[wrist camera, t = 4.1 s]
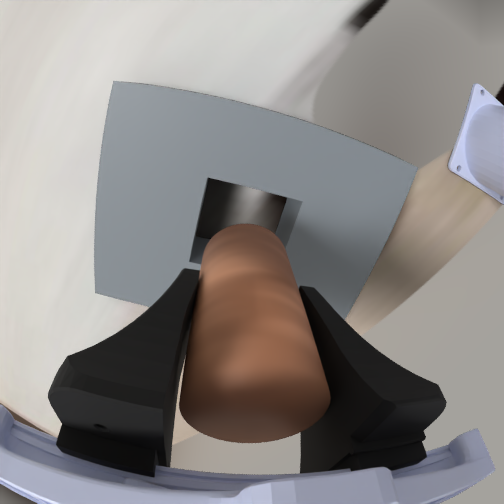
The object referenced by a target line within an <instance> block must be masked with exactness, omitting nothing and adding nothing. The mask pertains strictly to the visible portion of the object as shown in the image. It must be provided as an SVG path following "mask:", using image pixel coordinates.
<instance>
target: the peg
mask: <svg viewBox="0 0 504 504" xmlns="http://www.w3.org/2000/svg"><path fill="white" fill-rule="evenodd" d="M330 399H331V397H330V391H329V387H328V384H327V381H326V377H325V374H324V370H323V367H322V364H321V360H320V357H319V354H318V350H317V347H316V344H315V340H314V337H313V334H312V331H311V327H310V324H309V321H308V318H307V315H306V311H305V308H304V305H303V302H302V299H301V296H300V293H299V289H298V286H297V283H296V280H295V277H294V274H293V271H292V268H291V265H290V262H289V259H288V256H287V253H286V250H285V247H284V245H283V243H282V242H281V240H280V239H279V238H278V237H277V236H276V235H275V234H274V233H273V232H271V231H270V230H268V229H266V228H264V227H261V226H258V225H254V224H237V225H233V226H229V227H227V228H225V229H223V230H221V231H219V232H218V233H217V234H215V235H214V236H213V237H212V238H211V240H210V241H209V242H208V244H207V245H206V247H205V250H204V253H203V258H202V263H201V268H200V275H199V282H198V287H197V293H196V298H195V303H194V308H193V314H192V320H191V326H190V332H189V338H188V345H187V351H186V358H185V365H184V372H183V379H182V386H181V394H180V402H179V408H180V412H181V415H182V416H183V418H184V419H185V421H186V422H187V423H188V424H189V425H190V426H192V427H193V428H194V429H196V430H197V431H199V432H201V433H203V434H205V435H208V436H210V437H213V438H216V439H219V440H224V441H229V442H237V443H261V442H269V441H275V440H279V439H283V438H286V437H289V436H292V435H295V434H297V433H299V432H301V431H304V430H305V429H307V428H309V427H310V426H312V425H313V424H315V423H316V422H317V421H318V420H319V419H320V418H321V417H322V416H323V415H324V414H325V412H326V411H327V409H328V407H329V404H330Z"/></svg>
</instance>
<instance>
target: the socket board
mask: <svg viewBox="0 0 504 504" xmlns="http://www.w3.org/2000/svg"><path fill="white" fill-rule="evenodd" d="M417 170H418V167H416V166H414V165H412V164H410V163H408V162H406V161H404V160H402V159H400V158H398V157H395V156H394V155H391V154H389V153H387V152H385V151H382V150H380V149H378V148H375V147H373V146H371V145H368V144H366V143H363V142H361V141H359V140H356V139H354V138H351V137H348V136H346V135H343V134H341V133H338V132H335V131H333V130H330V129H327V128H324V127H321V126H319V125H316V124H313V123H310V122H307V121H304V120H301V119H298V118H295V117H291V116H288V115H285V114H282V113H278V112H275V111H271V110H268V109H264V108H261V107H257V106H253V105H250V104H246V103H242V102H238V101H234V100H229V99H225V98H221V97H216V96H212V95H207V94H202V93H197V92H192V91H186V90H181V89H175V88H169V87H163V86H156V85H149V84H141V83H132V82H119V81H113V85H112V90H111V94H110V99H109V104H108V110H107V115H106V121H105V127H104V133H103V140H102V147H101V155H100V163H99V172H98V183H97V195H96V211H95V239H94V270H95V293H97V294H101V295H105V296H108V297H112V298H116V299H120V300H124V301H128V302H132V303H136V304H140V305H144V306H148V307H151V306H152V305H153V304H154V303H155V302H156V301H157V300H158V299H159V298H160V297H161V296H162V295H163V293H164V292H165V291H166V290H167V289H168V288H169V287H170V286H171V284H172V283H173V282H174V281H175V279H176V278H177V276H178V275H179V274H180V272H181V270H182V269H184V268H188V269H194V270H200V268H201V263H202V258H203V253H204V250H205V247H206V245H207V244H208V242H209V241H210V239H206V238H201V237H197V236H196V233H197V228H198V223H199V219H200V214H201V210H202V206H203V201H204V197H205V193H206V188H207V184H208V180H209V178H213V179H217V180H221V181H225V182H230V183H234V184H238V185H242V186H246V187H250V188H254V189H258V190H262V191H266V192H269V193H273V194H277V195H281V196H284V197H288V198H287V201H286V204H285V207H284V210H283V213H282V215H281V218H280V221H279V224H278V227H277V230H276V233H275V235H276V236H277V237H278V238H279V239H280V240H281V242H282V243H283V245H284V247H285V250H286V253H287V256H288V259H289V262H290V265H291V268H292V271H293V274H294V277H295V280H296V283H297V286H298V289H299V287H300V286H308V287H314V288H315V289H316V290H317V291H318V292H319V293H320V294H321V295H322V296H323V297H324V298H325V300H326V301H327V302H328V303H329V304H330V305H331V306H332V307H333V308H334V310H335V311H336V312H337V313H338V314H339V315H340V316H341V317H342V318H343V319H344V320H345V318H346V317H347V315H348V313H349V311H350V310H351V308H352V306H353V304H354V303H355V301H356V299H357V297H358V295H359V294H360V292H361V290H362V288H363V286H364V284H365V283H366V281H367V279H368V277H369V275H370V273H371V271H372V269H373V267H374V265H375V263H376V261H377V259H378V257H379V255H380V253H381V251H382V249H383V247H384V245H385V243H386V241H387V239H388V237H389V235H390V233H391V230H392V228H393V226H394V224H395V222H396V220H397V217H398V215H399V213H400V211H401V208H402V206H403V204H404V201H405V199H406V197H407V194H408V192H409V190H410V187H411V185H412V182H413V180H414V177H415V175H416V172H417Z"/></svg>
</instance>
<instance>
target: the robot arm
mask: <svg viewBox="0 0 504 504" xmlns="http://www.w3.org/2000/svg"><path fill="white" fill-rule="evenodd" d="M481 92H482V94H481ZM457 166H458V169H457ZM448 168H449V170H450V171H452V172H454V173H456V174H457V175H459V176H461V177H462V178H464V179H465V180H467V181H469V182H470V183H472V184H473V185H475V186H477V187H478V188H480V189H481V190H483V191H484V192H486V193H487V194H489V195H490V196H492V197H493V198H495V199H496V200H497V201H499V202H500V203H502V204H503V205H504V106H503V105H502V104H501V103H500V102H499V101H498V100H497V99H496V98H495V97H493V96H492V95H491V94H490V93H489V92H488V91H487V90H486V89H484V88H483V87H482V86H481V85H480V84H477V83H475V84H473V86H472V91H471V94H470V97H469V102H468V105H467V108H466V112H465V115H464V118H463V122H462V125H461V128H460V132H459V134H458V138H457V140H456V143H455V146H454V149H453V152H452V155H451V157H450V160H449V163H448ZM500 196H501V197H500ZM199 275H200V270H194V269H188V268H184V269H182V270H181V272H180V274H179V275H178V276H177V278H176V279H175V281H174V282H173V283H172V284H171V286H170V287H169V288H168V289H167V290H166V291H165V292H164V293H163V295H162V296H161V297H160V298H159V299H158V300H157V301H156V302H155V303H154V304H153V305H152V306H151V307H150V308H149V309H148V310H146V311H145V312H144V313H143V314H142V315H141V316H139V317H138V318H137V319H136V320H134V321H133V322H132V323H130V324H129V325H128V326H126V327H125V328H123V329H122V330H120V331H119V332H117V333H116V334H114V335H112V336H111V337H109V338H107V339H105V340H103V341H102V342H100V343H98V344H96V345H94V346H92V347H89V348H87V349H85V350H82V351H80V352H77V353H75V354H72V355H69V356H67V358H66V359H65V361H64V362H63V364H62V365H61V367H60V368H59V370H58V372H57V374H56V376H55V378H54V380H53V383H52V385H51V387H50V390H49V392H48V399H49V401H50V404H51V406H52V408H53V409H54V411H55V413H56V414H57V416H58V418H59V419H60V421H61V423H62V426H61V429H60V432H59V435H58V438H56V437H53V436H51V435H48V434H45V433H43V432H41V431H38V430H36V429H34V428H31V427H29V426H27V425H24V424H22V423H20V422H18V421H16V420H14V418H13V416H12V415H11V413H10V412H9V411H8V410H7V409H6V408H5V407H3V406H2V405H0V484H2V485H4V486H5V487H7V488H9V489H11V490H13V491H14V492H16V493H18V494H20V495H22V496H24V497H26V498H28V499H30V500H32V501H34V502H36V503H39V504H439V503H441V502H444V501H446V500H448V499H450V498H452V497H454V496H456V495H458V494H459V493H461V492H463V491H465V490H467V489H468V488H470V487H471V486H473V485H475V484H476V483H478V482H479V481H481V480H483V479H484V478H486V477H487V476H489V475H490V474H492V473H493V472H494V471H495V467H494V464H493V462H492V460H491V457H490V455H489V452H488V451H487V448H486V446H485V443H484V441H483V439H482V436H481V435H480V432H479V430H478V429H473V430H471V431H468V432H465V433H463V434H461V435H459V436H458V437H456V438H455V439H454V440H452V441H451V442H450V443H449V445H446V446H443V447H440V448H437V449H433V450H430V451H427V452H426V451H425V449H424V446H423V443H422V441H423V440H425V438H426V436H425V434H424V430H425V429H426V428H427V427H428V426H429V425H430V424H431V423H432V422H433V421H435V420H436V419H437V418H438V417H439V416H440V414H441V413H442V412H443V411H444V409H445V407H446V400H445V398H444V396H443V394H442V392H441V390H440V387H439V386H438V385H437V384H435V383H433V382H431V381H429V380H426V379H424V378H422V377H420V376H418V375H415V374H414V373H412V372H410V371H408V370H406V369H405V368H403V367H401V366H400V365H398V364H397V363H395V362H393V361H392V360H390V359H389V358H388V357H386V356H385V355H383V354H382V353H381V352H379V351H378V350H376V349H375V348H374V347H373V346H372V345H370V344H369V343H368V342H367V341H366V340H364V339H363V338H362V337H361V336H360V335H359V334H358V333H357V332H356V331H355V330H354V329H353V328H352V327H351V326H350V325H349V324H348V323H347V322H346V321H345V320H344V319H343V318H342V317H341V316H340V315H339V314H338V313H337V312H336V311H335V310H334V308H333V307H332V306H331V305H330V304H329V303H328V302H327V301H326V300H325V298H324V297H323V296H322V295H321V294H320V293H319V292H318V291H317V290H316V289H315V288H314V287H308V286H300V287H299V293H300V296H301V299H302V302H303V305H304V308H305V311H306V315H307V318H308V321H309V324H310V327H311V331H312V334H313V337H314V340H315V344H316V347H317V350H318V354H319V357H320V360H321V364H322V367H323V370H324V374H325V377H326V381H327V384H328V387H329V391H330V397H331V399H330V404H329V407H328V409H327V411H326V412H325V414H324V415H323V416H322V417H321V418H320V419H319V420H318V421H317V422H316V423H315V424H313V425H312V426H310V427H309V428H307V429H305V430H304V431H301V463H300V474H278V475H247V474H246V475H245V474H225V473H211V472H200V471H192V470H184V469H176V468H170V462H171V450H172V439H173V429H174V420H175V411H176V402H177V394H178V387H179V381H180V376H181V372H182V368H183V364H184V360H185V356H186V351H187V345H188V338H189V332H190V326H191V320H192V314H193V308H194V303H195V298H196V293H197V287H198V282H199Z"/></svg>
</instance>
